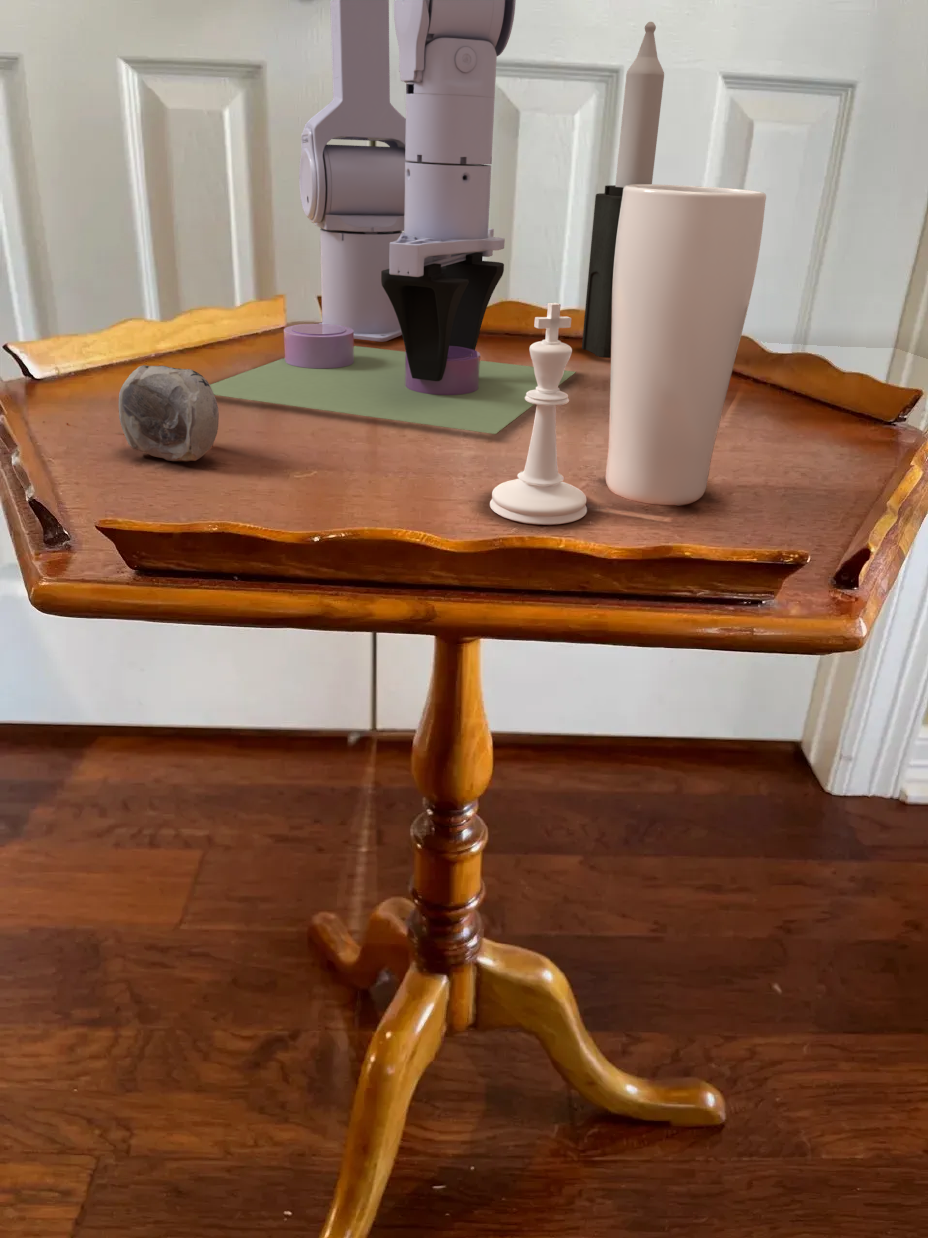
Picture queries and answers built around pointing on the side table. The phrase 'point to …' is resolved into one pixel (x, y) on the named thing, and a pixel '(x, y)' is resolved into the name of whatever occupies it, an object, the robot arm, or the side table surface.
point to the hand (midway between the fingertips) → (442, 370)
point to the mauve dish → (450, 374)
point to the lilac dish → (319, 346)
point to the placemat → (389, 391)
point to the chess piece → (543, 441)
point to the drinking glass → (676, 332)
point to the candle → (631, 169)
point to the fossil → (168, 412)
